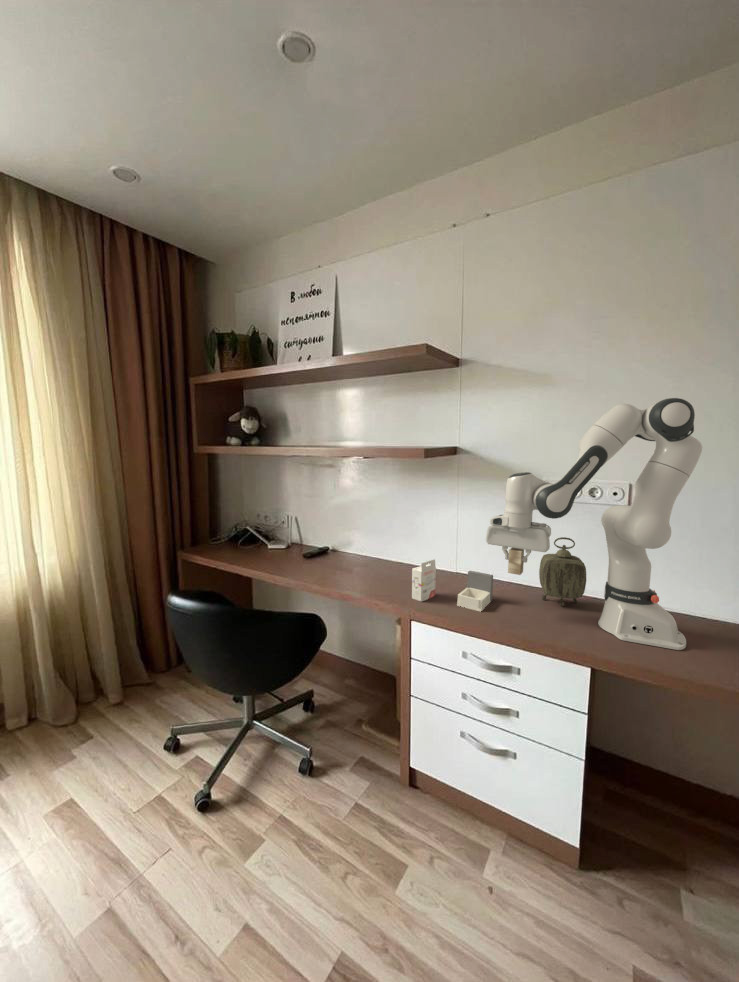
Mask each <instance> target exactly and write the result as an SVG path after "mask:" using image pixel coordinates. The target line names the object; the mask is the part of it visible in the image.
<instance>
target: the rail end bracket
mask: <svg viewBox="0 0 739 982" xmlns="http://www.w3.org/2000/svg"><path fill="white" fill-rule="evenodd" d="M508 553H509V559H508V561H507V562H508V563H507V573H508V574H510V575H511V574H512V575H519V576H521V575H522V574H523V573H524V563H525V562H522V557H523V556H525V549H518V548H511V547H510V549H508Z"/></svg>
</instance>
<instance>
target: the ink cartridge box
mask: <svg viewBox="0 0 739 982" xmlns="http://www.w3.org/2000/svg"><path fill="white" fill-rule="evenodd" d="M436 568H437V567H436V559H435V558H434V559H431V560H428V561H425V562H422V563H421V565H420V566H417V567H413V568H411V569H412V570H411V599H413V600H415V601H419V602H421V603H422V602H424V601H427V600H428V599H429V600H430V599H431V598H433V597H435V596H436V578H437V577H436V573H437V572H436V570H437V569H436Z"/></svg>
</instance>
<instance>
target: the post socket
mask: <svg viewBox="0 0 739 982" xmlns="http://www.w3.org/2000/svg"><path fill="white" fill-rule="evenodd" d="M466 583H467V585H466V586H467V587H465V589H463V590H461V592H460V591H459V593H458V594H457V602H456V606H457V607H460V606H461V607H460V608H464V607H465V609H468V610H472V611H477V612H480V613H481V611H482V612H483V611H484V609H486V608H487V607H488V606H489V605H490V604H491V603H492V601H493V586H494V574H490V573H486V572H485V573H484V572H479V571H474V570H469V571H467V582H466ZM490 602H491V603H490ZM489 603H490V604H489ZM488 604H489V605H488ZM487 605H488V606H487ZM486 606H487V607H486ZM485 607H486V608H485Z"/></svg>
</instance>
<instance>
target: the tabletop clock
mask: <svg viewBox="0 0 739 982" xmlns="http://www.w3.org/2000/svg"><path fill="white" fill-rule="evenodd" d="M559 540H560V541H561V540H568V541H571V542H572V543H573V544H572V546H566V545H565V544H563V545H562V546H561V545H557V544H556V542H557V541H559ZM553 545H554V547H556V548H558V550H557V551H556V553H547V554H543V555H542V557H541V560H540V563H539V569H538V570H539V571H538V576H539V583H540V586H541V589H542V591H543V593H544V594H545V595H542V596H541V599H542V600H543V601H544V600H547V596H550V597H554V598H560V602H559V606H560V607H564V606H565V603H564V599H572V602H573V603H574V604H577V602H578V599H579V598H582V597H583V596H584V594H585V591H586V585H587V567H586V565H585V563H584V562H583V560H582V559H581V558H580V557H578V556H576V555H572V553H571V552H570V551H569V550H570V549H573V548H574V547H575V545H576V542H575V541H574V540H573V539H572V538H570V537H567V536H566V537H562V536H561V537H557V538H556V539H554V541H553Z"/></svg>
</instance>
